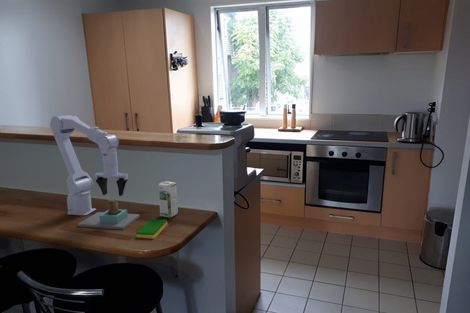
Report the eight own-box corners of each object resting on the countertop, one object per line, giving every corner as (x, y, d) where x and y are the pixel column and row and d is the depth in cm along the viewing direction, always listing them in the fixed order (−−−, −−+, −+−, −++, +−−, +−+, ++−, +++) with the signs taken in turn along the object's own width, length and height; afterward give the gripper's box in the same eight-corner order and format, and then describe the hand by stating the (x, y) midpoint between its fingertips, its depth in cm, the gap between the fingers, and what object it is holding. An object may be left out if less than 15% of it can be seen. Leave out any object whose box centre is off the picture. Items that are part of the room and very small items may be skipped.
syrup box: (159, 216, 150) (157, 183, 147) (168, 211, 155) (166, 180, 152) (170, 218, 147) (168, 185, 144) (178, 213, 152) (176, 181, 149)
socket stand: (78, 226, 140) (77, 217, 139) (98, 214, 153) (97, 205, 153) (123, 229, 136) (122, 219, 135) (139, 216, 149) (138, 207, 149)
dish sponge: (136, 238, 129) (135, 232, 128) (151, 224, 142) (150, 218, 141) (154, 239, 127) (153, 233, 127) (167, 225, 141) (167, 219, 140)
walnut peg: (107, 220, 143) (105, 202, 141) (112, 217, 146) (110, 199, 145) (116, 221, 142) (114, 202, 140) (120, 217, 146) (119, 199, 144)
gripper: (89, 165, 141) (92, 196, 144) (121, 166, 138) (123, 198, 141) (99, 161, 148) (102, 191, 151) (129, 162, 145) (132, 193, 148)
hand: (113, 194), depth 146 cm, fingers open, 7 cm apart
